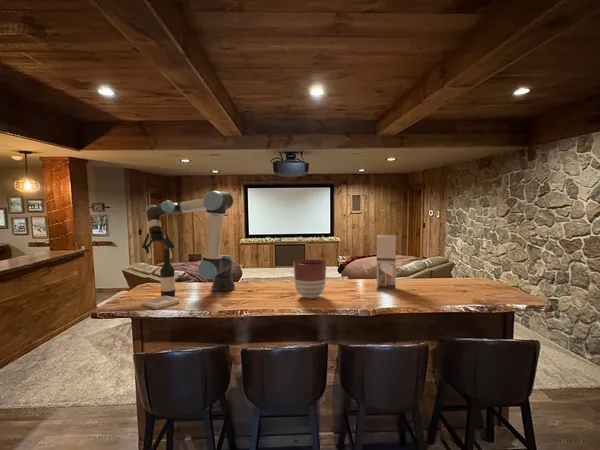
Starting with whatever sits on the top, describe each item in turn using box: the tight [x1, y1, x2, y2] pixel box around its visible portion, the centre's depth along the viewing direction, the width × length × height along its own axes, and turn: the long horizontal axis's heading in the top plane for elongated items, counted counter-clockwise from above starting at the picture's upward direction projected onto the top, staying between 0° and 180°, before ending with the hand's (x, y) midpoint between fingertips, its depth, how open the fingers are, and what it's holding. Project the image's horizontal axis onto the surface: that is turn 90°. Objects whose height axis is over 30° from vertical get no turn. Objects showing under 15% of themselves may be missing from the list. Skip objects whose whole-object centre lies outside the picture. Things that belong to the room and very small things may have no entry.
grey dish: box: [141, 295, 180, 310], centre depth 189 cm, size 14×14×2 cm
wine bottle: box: [159, 247, 176, 298], centre depth 205 cm, size 8×8×30 cm
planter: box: [293, 259, 327, 300], centre depth 199 cm, size 20×20×21 cm
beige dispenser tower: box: [376, 234, 397, 293], centre depth 217 cm, size 11×11×35 cm
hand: (160, 258), depth 208 cm, fingers open, 13 cm apart
